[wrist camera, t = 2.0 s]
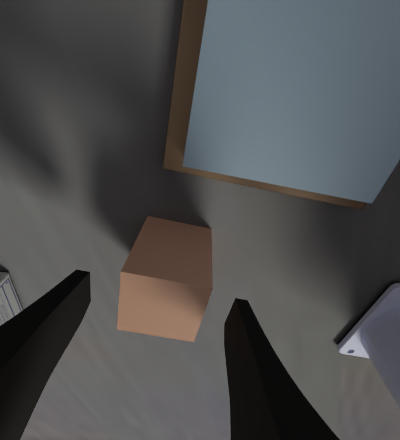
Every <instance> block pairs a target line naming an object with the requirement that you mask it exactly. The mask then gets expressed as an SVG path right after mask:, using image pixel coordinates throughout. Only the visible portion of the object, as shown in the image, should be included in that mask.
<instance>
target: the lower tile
mask: <svg viewBox="0 0 400 440" xmlns="http://www.w3.org/2000/svg"><path fill="white" fill-rule="evenodd" d="M207 4H208V0H184V4H183V12H182V20H181V28H180V36H179V44H178V52H177V60H176V68H175V76H174V84H173V92H172V100H171V108H170V116H169V124H168V132H167V139H166V147H165V155H164V163H163V169H168V170H173V171H178V172H183V173H187V174H192V175H197V176H202V177H207V178H211V179H216V180H221V181H226V182H231V183H236V184H240V185H245V186H250V187H255V188H260V189H264V190H269V191H274V192H279V193H284V194H288V195H293V196H298V197H303V198H308V199H312V200H317V201H322V202H327V203H332V204H337V205H341V206H346V207H351V208H356V209H361V210H362V209H363V208H364V206H365V205H366V202H361V201H356V200H351V199H346V198H341V197H335V196H330V195H325V194H320V193H315V192H310V191H305V190H300V189H295V188H290V187H285V186H280V185H275V184H270V183H265V182H259V181H254V180H249V179H244V178H239V177H234V176H229V175H224V174H219V173H214V172H209V171H204V170H199V169H194V168H189V167H183V159H184V153H185V146H186V140H187V134H188V127H189V121H190V114H191V108H192V101H193V95H194V88H195V82H196V75H197V69H198V63H199V56H200V50H201V43H202V37H203V30H204V24H205V17H206V11H207Z"/></svg>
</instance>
